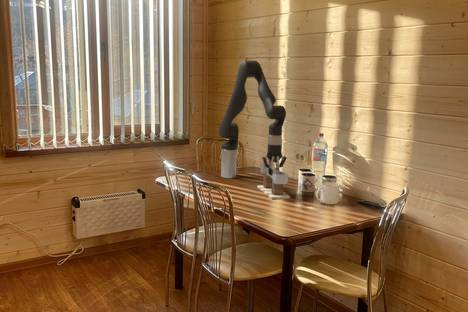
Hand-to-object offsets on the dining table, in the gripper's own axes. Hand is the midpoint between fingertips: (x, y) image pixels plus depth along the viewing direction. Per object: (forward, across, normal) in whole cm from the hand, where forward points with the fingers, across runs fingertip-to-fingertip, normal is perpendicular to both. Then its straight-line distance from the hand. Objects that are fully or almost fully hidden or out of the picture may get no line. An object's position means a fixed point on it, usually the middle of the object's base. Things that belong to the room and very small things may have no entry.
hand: (273, 174), depth 245 cm
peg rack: (+10, 0, 0) cm, 10 cm away
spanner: (+1, 0, 0) cm, 1 cm away
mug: (+10, -21, +22) cm, 32 cm away
